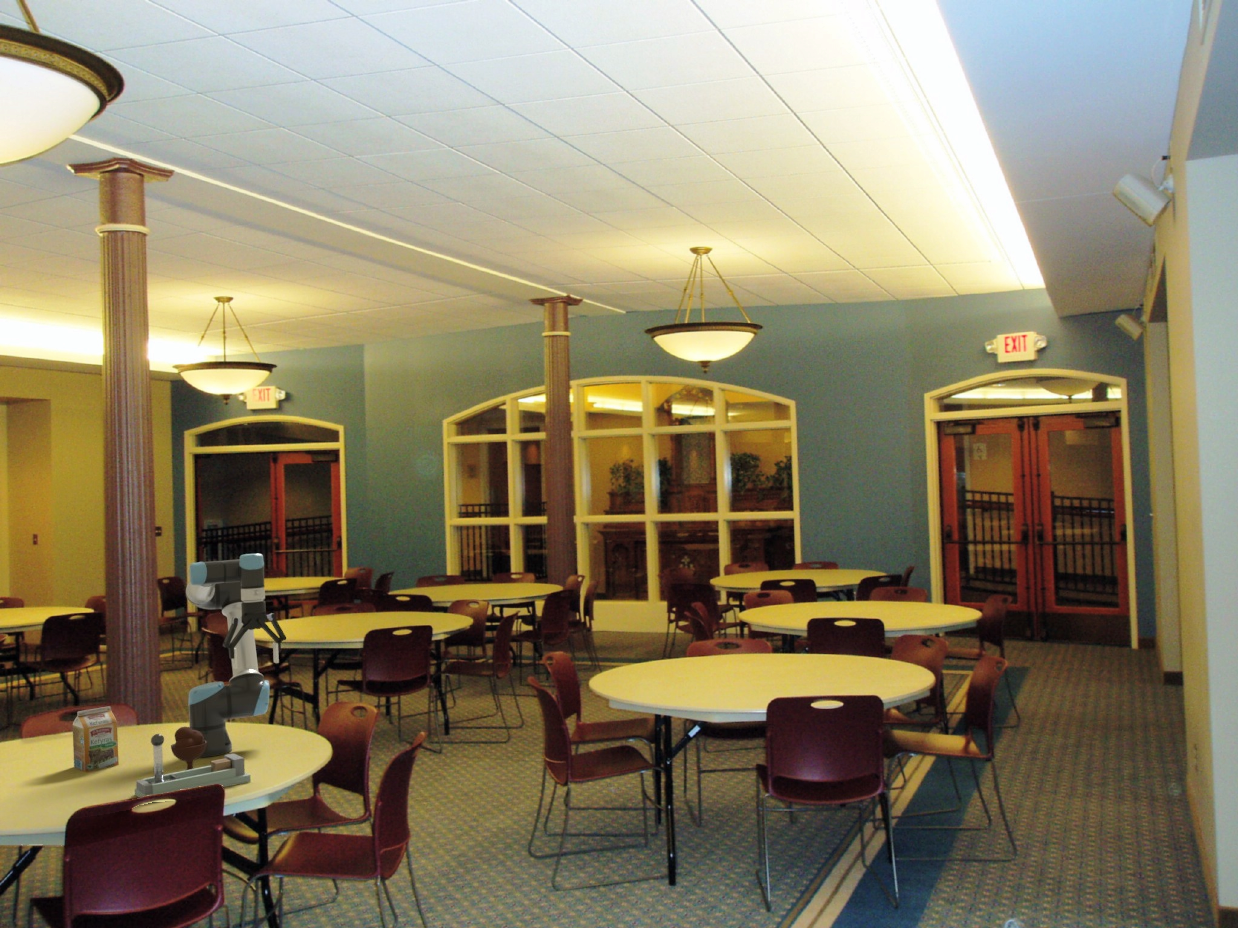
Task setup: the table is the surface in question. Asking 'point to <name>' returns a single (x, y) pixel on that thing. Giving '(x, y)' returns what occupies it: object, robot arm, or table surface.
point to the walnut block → (220, 765)
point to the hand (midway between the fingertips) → (255, 665)
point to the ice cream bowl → (188, 745)
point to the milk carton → (95, 739)
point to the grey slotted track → (196, 778)
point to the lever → (159, 760)
